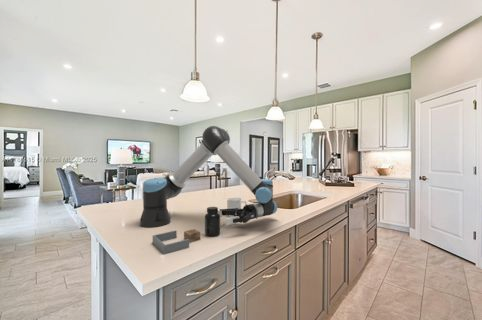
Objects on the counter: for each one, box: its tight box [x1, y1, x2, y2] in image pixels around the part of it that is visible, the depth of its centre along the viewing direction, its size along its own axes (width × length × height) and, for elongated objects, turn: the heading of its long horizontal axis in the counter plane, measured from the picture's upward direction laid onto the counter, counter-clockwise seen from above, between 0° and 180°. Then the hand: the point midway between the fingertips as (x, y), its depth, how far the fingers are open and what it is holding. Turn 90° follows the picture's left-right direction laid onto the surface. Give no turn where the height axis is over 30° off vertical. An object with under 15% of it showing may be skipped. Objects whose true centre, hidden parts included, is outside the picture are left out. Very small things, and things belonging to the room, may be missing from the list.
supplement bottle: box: [204, 206, 221, 238], centre depth 99 cm, size 7×7×12 cm
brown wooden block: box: [183, 228, 201, 244], centre depth 93 cm, size 5×5×4 cm
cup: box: [226, 197, 248, 218], centre depth 131 cm, size 8×12×10 cm
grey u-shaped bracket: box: [152, 230, 190, 255], centre depth 87 cm, size 10×14×3 cm
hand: (217, 218), depth 100 cm, fingers open, 13 cm apart
